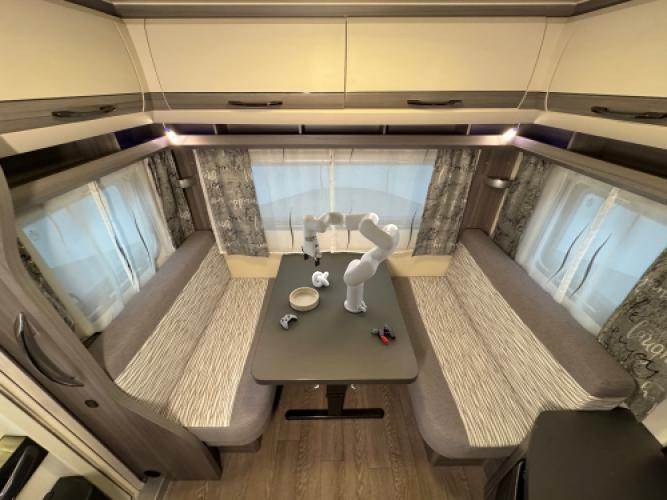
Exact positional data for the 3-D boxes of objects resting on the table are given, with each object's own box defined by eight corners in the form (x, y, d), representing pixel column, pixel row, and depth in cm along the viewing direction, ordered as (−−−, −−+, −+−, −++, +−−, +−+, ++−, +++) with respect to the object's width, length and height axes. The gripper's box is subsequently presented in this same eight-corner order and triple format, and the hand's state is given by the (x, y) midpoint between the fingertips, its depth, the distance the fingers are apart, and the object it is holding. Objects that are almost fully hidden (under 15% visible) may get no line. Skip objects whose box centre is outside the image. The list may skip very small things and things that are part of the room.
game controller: (287, 329, 141) (280, 320, 140) (282, 331, 144) (276, 323, 144) (298, 318, 148) (292, 310, 148) (293, 320, 151) (287, 312, 151)
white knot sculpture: (318, 277, 184) (318, 266, 179) (333, 281, 179) (333, 271, 174) (310, 286, 175) (309, 275, 171) (325, 291, 170) (325, 280, 166)
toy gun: (370, 330, 141) (371, 324, 138) (392, 329, 141) (393, 323, 139) (373, 345, 132) (374, 338, 130) (396, 344, 133) (397, 337, 130)
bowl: (324, 301, 162) (324, 295, 160) (302, 316, 151) (302, 310, 149) (306, 288, 173) (305, 283, 171) (284, 301, 162) (283, 296, 160)
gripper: (325, 239, 141) (326, 265, 149) (305, 230, 151) (307, 254, 160) (315, 244, 136) (317, 271, 145) (295, 234, 146) (297, 259, 155)
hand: (311, 262), depth 152 cm, fingers open, 9 cm apart
